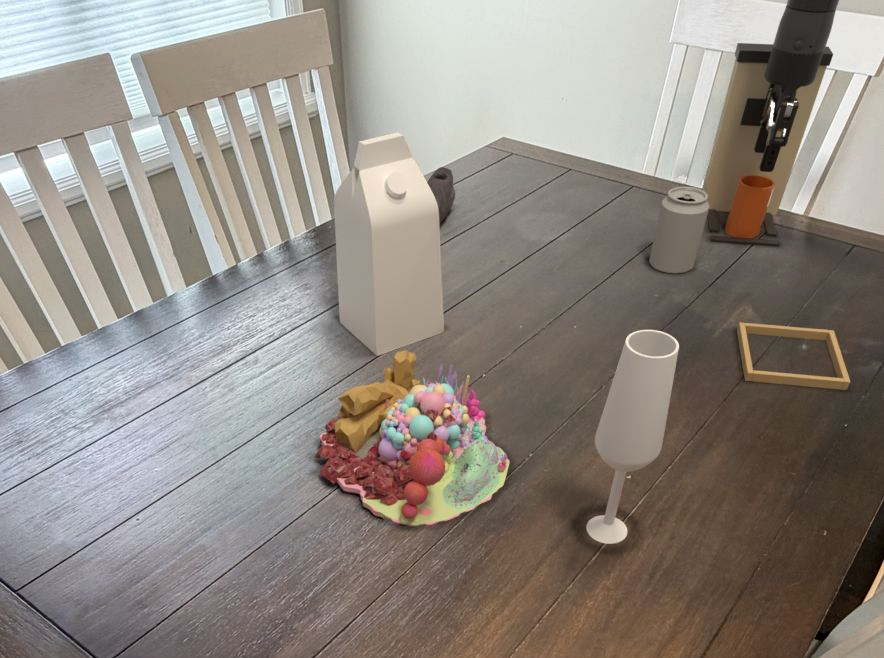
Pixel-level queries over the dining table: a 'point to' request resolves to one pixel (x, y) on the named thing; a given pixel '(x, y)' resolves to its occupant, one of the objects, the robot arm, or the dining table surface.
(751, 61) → the standing sign board
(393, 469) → the candy landscape model
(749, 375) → the tan wooden square frame
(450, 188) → the perforated stone tool
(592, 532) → the champagne flute
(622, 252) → the dining table surface
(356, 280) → the milk
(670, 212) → the can
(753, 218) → the cup
